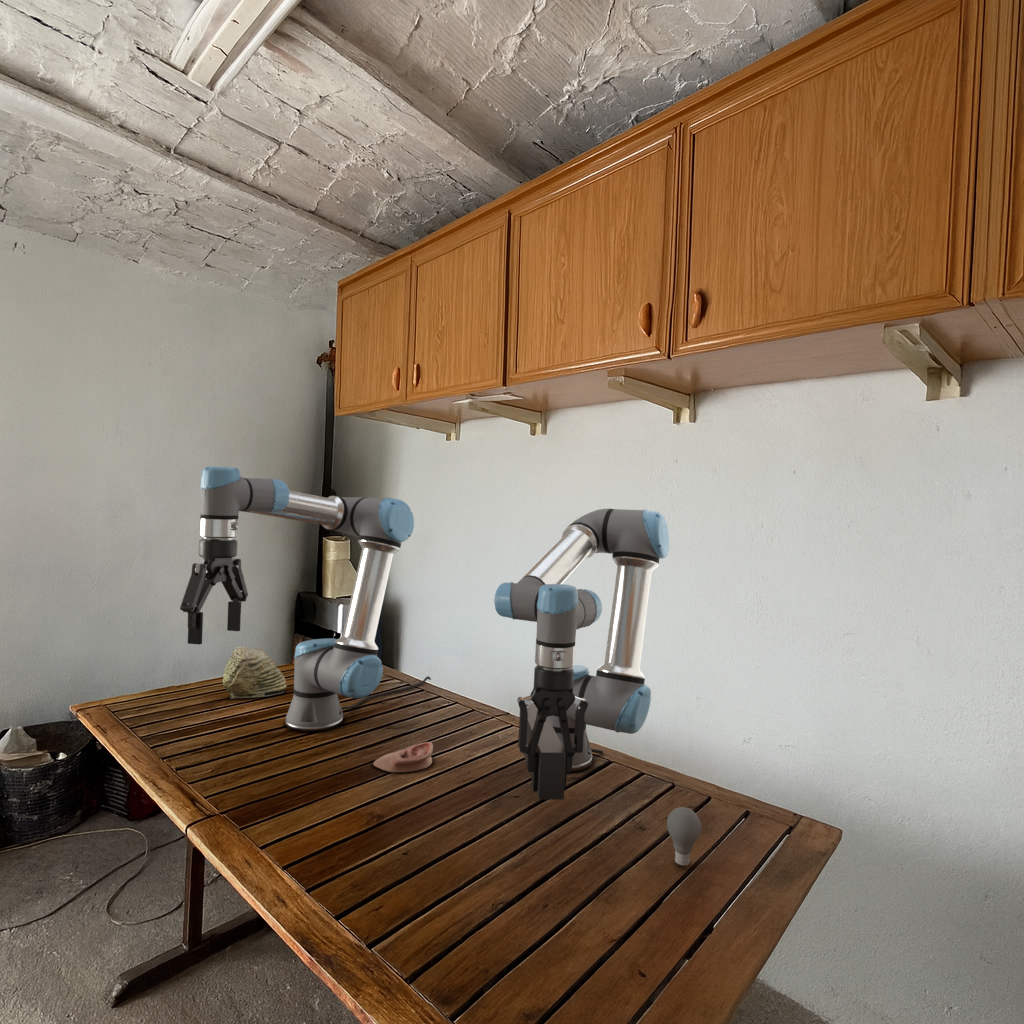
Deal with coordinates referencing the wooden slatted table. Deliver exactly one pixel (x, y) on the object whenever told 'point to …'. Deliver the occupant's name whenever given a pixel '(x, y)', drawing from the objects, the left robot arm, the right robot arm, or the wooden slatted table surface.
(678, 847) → the light bulb
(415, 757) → the anatomical model
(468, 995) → the wooden slatted table surface
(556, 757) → the bar
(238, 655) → the fossil
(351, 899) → the wooden slatted table surface
